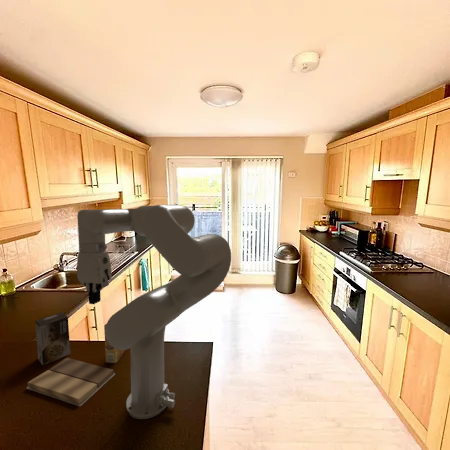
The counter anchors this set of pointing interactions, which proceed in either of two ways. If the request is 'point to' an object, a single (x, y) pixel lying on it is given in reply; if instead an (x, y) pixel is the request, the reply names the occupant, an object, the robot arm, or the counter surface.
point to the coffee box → (52, 338)
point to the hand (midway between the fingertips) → (94, 302)
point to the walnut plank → (83, 371)
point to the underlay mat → (70, 401)
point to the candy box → (112, 352)
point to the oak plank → (63, 386)
